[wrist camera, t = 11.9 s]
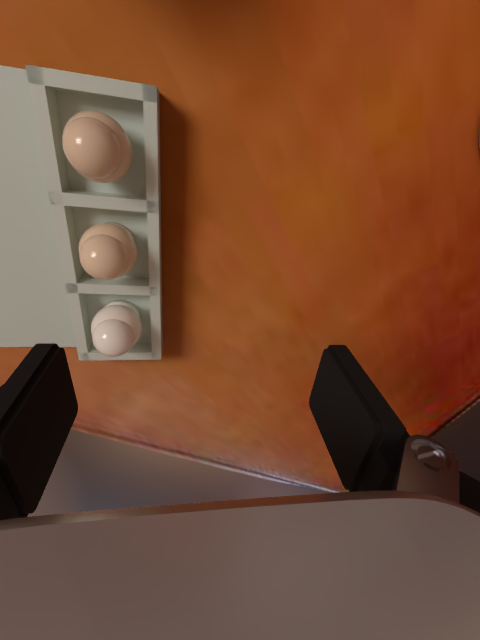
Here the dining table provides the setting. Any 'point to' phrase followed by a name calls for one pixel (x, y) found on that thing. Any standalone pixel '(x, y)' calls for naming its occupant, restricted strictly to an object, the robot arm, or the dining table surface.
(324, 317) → the dining table surface
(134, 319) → the white egg shape
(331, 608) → the robot arm
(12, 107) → the egg carton
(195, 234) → the dining table surface
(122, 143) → the brown egg end
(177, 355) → the dining table surface
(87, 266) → the brown egg middle
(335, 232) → the dining table surface
